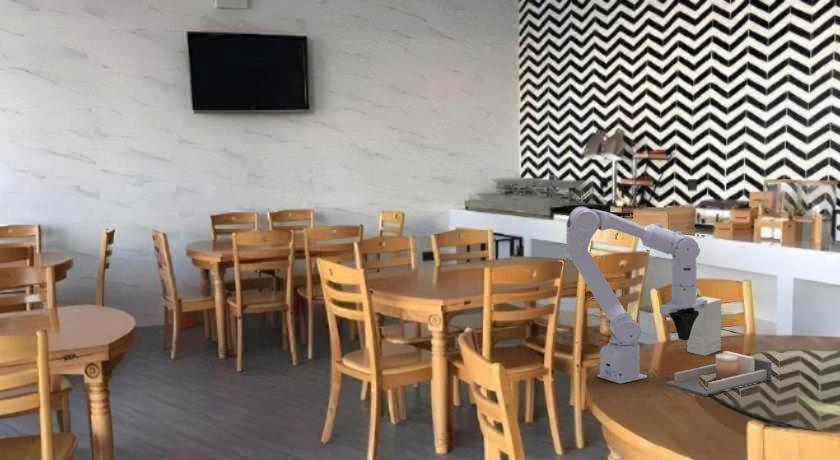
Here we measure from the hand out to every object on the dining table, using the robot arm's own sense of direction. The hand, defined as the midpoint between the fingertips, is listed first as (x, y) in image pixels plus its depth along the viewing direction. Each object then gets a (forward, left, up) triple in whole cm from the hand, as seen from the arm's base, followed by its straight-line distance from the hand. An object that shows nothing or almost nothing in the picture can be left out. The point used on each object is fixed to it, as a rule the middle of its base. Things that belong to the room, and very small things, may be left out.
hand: (683, 339), depth 196 cm
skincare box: (+24, +14, -10) cm, 29 cm away
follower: (+10, -8, -9) cm, 16 cm away
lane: (+3, -8, -9) cm, 13 cm away
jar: (+6, -8, -9) cm, 13 cm away
